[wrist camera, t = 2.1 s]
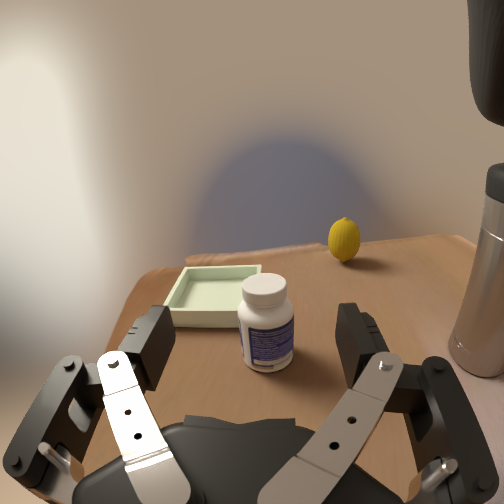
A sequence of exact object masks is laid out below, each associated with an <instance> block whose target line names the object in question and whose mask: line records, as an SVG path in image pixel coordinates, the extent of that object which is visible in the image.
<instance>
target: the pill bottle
mask: <svg viewBox="0 0 504 504" xmlns="http://www.w3.org/2000/svg"><path fill="white" fill-rule="evenodd" d="M242 296H243V301H242V302H241V303H240V305H239V307H238V321H239V328H240V336H241V345H242V354H243V359H244V361H245V363H246V364H247V365H248V366H249V367H250V368H252V369H253V370H256V371H259V372H274V371H278V370H281V369H283V368H284V367H286V366H287V365H288V364H289V363H290V362H291V360H292V357H293V338H294V308H293V305H292V303H291V301H290V300H289V299H288V298H287V283H286V280H285V279H284V278H283V277H282V276H280V275H277V274H272V273H260V274H255V275H252V276H249V277H248V278H246V279H245V280H244V281H243V282H242Z"/></svg>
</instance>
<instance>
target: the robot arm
mask: <svg viewBox="0 0 504 504" xmlns="http://www.w3.org/2000/svg"><path fill="white" fill-rule="evenodd" d="M467 3H468V16H469V67H470V81H471V87H472V93H473V96H474V100H475V103H476V105H477V107H478V109H479V111H480V112H481V114H482V115H483V116H484V117H485V118H486V119H487V120H489V121H491V122H493V123H495V124H498V125H500V126H503V127H504V0H467ZM485 192H486V193H485V200H484V208H483V215H482V223H481V229H480V234H479V240H478V245H477V249H476V254H475V258H474V263H473V267H472V271H471V275H470V278H469V282H468V286H467V289H466V293H465V296H464V299H463V302H462V305H461V309H460V311H459V314H458V317H457V320H456V323H455V326H454V328H453V331H452V334H451V336H450V339H449V350H450V353H451V355H452V357H453V358H454V360H455V361H456V362H457V363H458V364H459V365H460V366H461V367H462V368H463V369H465V370H466V371H468V372H470V373H472V374H474V375H477V376H481V377H494V376H497V375H499V374H501V373H503V372H504V163H499V164H495V165H493V166H491V167H490V168H489V169H488V172H487V180H486V191H485ZM175 337H176V335H175V329H174V325H173V321H172V316H171V312H170V309H169V307H168V306H164V305H153V306H152V307H151V308H150V310H149V312H148V313H147V315H142V316H141V317H140V318H138V319H137V320H136V321H135V322H134V324H133V325H132V327H131V328H130V330H129V332H128V334H127V335H126V336H125V338H124V339H123V341H122V343H121V344H120V346H119V347H118V349H117V351H113V352H109V353H107V354H105V355H103V356H102V357H101V358H100V360H99V362H98V363H90V364H84V363H83V361H82V359H81V358H80V357H79V356H77V355H70V356H67V357H65V358H63V359H61V360H60V362H59V363H58V364H57V365H56V367H55V368H54V370H53V371H52V373H51V375H50V376H49V378H48V379H47V381H46V382H45V384H44V385H43V387H42V389H41V390H40V392H39V393H38V395H37V397H36V398H35V400H34V402H33V403H32V405H31V407H30V409H29V410H28V412H27V413H26V415H25V417H24V419H23V420H22V422H21V424H20V426H19V427H18V429H17V431H16V433H15V435H14V437H13V439H12V441H11V443H10V444H9V446H8V448H7V450H6V452H5V454H4V457H3V467H4V469H5V471H6V472H7V473H8V474H9V475H10V476H11V477H13V478H14V479H15V480H16V481H18V482H19V483H20V484H21V485H22V486H23V487H25V488H26V489H27V490H28V491H30V492H31V493H33V494H34V495H36V496H37V497H39V498H41V499H43V500H44V501H46V502H48V503H49V504H484V503H485V502H487V501H488V500H490V499H491V498H492V497H493V496H494V495H495V493H496V492H497V489H498V486H499V476H498V473H497V470H496V467H495V464H494V461H493V458H492V455H491V453H490V450H489V447H488V445H487V442H486V439H485V437H484V434H483V432H482V429H481V427H480V425H479V422H478V420H477V418H476V415H475V413H474V411H473V409H472V406H471V404H470V402H469V400H468V398H467V396H466V394H465V392H464V390H463V388H462V386H461V384H460V382H459V380H458V378H457V376H456V374H455V372H454V370H453V368H452V366H451V364H450V363H449V362H448V361H447V360H445V359H444V358H441V357H437V356H432V357H428V358H426V359H425V360H424V361H423V363H422V366H421V365H409V364H404V363H403V361H402V360H401V358H400V357H399V356H397V355H396V354H394V353H391V352H390V351H389V349H388V347H387V345H386V343H385V341H384V339H383V336H382V334H381V333H380V330H379V328H378V327H377V324H376V322H375V320H374V318H373V317H371V316H370V315H369V314H368V313H367V312H363V313H360V311H359V309H358V307H357V304H356V303H340V304H339V307H338V315H337V323H336V330H335V338H336V344H337V348H338V351H339V355H340V359H341V362H342V366H343V370H344V374H345V378H346V381H347V385H348V389H347V391H346V392H345V393H344V395H343V396H342V398H341V399H340V401H339V402H338V403H337V405H336V406H335V408H334V409H333V410H332V412H331V413H330V414H329V416H328V417H327V418H326V420H325V421H324V422H323V424H322V425H321V426H320V427H319V429H318V430H317V431H316V432H315V431H313V430H310V429H307V428H304V427H300V426H295V418H291V419H265V420H260V421H255V422H250V423H245V424H234V423H230V422H227V421H223V420H219V419H216V418H212V417H202V416H192V415H185V419H184V422H180V423H175V424H171V425H168V426H166V427H163V428H162V429H160V427H159V425H158V423H157V421H156V419H155V417H154V415H153V413H152V411H151V409H150V407H149V405H148V402H147V400H146V398H145V396H144V394H145V391H146V390H149V391H155V390H156V387H157V385H158V382H159V380H160V377H161V375H162V372H163V370H164V368H165V365H166V363H167V360H168V358H169V355H170V353H171V351H172V348H173V346H174V343H175ZM73 398H75V400H76V401H75V403H74V405H73V406H72V408H71V410H70V412H69V413H68V408H69V405H70V403H71V401H72V400H73ZM104 408H106V410H107V413H108V416H109V419H110V423H111V426H112V429H113V432H114V434H115V437H116V440H117V443H118V446H119V448H120V451H121V454H122V455H120V456H119V457H117V458H116V459H114V460H112V461H111V462H109V463H108V464H106V465H104V466H103V467H101V468H99V469H98V470H96V471H94V472H93V473H91V474H89V475H87V476H86V477H84V468H83V466H82V461H83V459H84V456H85V453H86V451H87V448H88V446H89V443H90V441H91V438H92V436H93V433H94V431H95V428H96V426H97V423H98V421H99V419H100V416H101V414H102V411H103V409H104ZM384 412H395V413H403V415H404V419H405V423H406V426H407V430H408V434H409V437H410V441H411V445H412V449H413V453H414V458H415V462H416V466H417V471H418V474H417V475H416V476H415V477H414V478H413V480H412V481H411V483H410V485H409V495H408V499H407V501H406V502H405V503H404V502H403V501H402V499H401V498H400V497H399V496H398V495H396V494H395V493H394V492H392V491H391V490H389V489H388V488H387V487H385V486H384V485H383V484H381V483H380V482H379V481H377V480H376V479H375V478H373V477H372V476H371V475H370V474H368V473H367V472H366V471H364V470H363V469H362V468H361V467H359V466H358V465H357V464H356V463H355V462H356V460H357V459H358V457H359V456H360V454H361V452H362V451H363V449H364V447H365V445H366V444H367V442H368V440H369V439H370V437H371V435H372V433H373V432H374V430H375V428H376V426H377V424H378V423H379V421H380V419H381V417H382V415H383V413H384Z"/></svg>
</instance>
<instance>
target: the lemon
mask: <svg viewBox="0 0 504 504" xmlns="http://www.w3.org/2000/svg"><path fill="white" fill-rule="evenodd" d="M328 242H329V249H330V251H331V253H332V254H333V256H334V257H336V258H337V259H340V261H341V262H345V261H346V260H349V259H351V258H353V257H354V256H355V255H356V254H357V252H358V250H359V247H360V232H359V229H358V227H357V225H356V224H355V223H354V222H352V221H351V220H349V219H348V218H346V217H344V218H343V219H341V220H339V221H337V222H335V223H334V224H333V226H332V227H331V229H330V233H329V238H328Z"/></svg>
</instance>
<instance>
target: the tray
mask: <svg viewBox="0 0 504 504" xmlns="http://www.w3.org/2000/svg"><path fill="white" fill-rule="evenodd" d="M260 273H262V269H261V265H240V266H209V267H185V268H184V269H183V271H182V273H181V275H180V276H179V278H178V280H177V281H176V283H175V285H174V287H173V288H172V290H171V292H170V294H169V295H168V297H167V299H166V301H165V303H164V304H163V305H164V306H168V307H169V309H170V312H171V316H172V321H173V325H174V327H206V328H239V321H238V307H239V305H240V303H241V302H242V301H243V296H242V282H243V281H244V280H245V279H246V278H248V277H249V276H252V275H255V274H260Z"/></svg>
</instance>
